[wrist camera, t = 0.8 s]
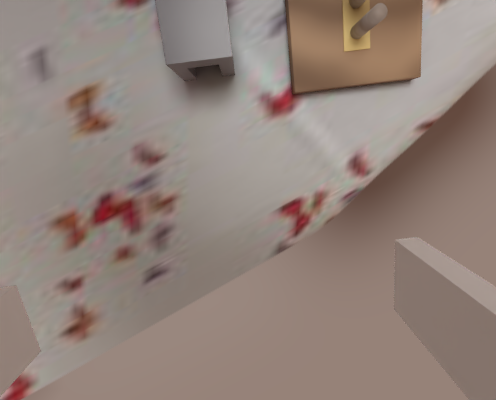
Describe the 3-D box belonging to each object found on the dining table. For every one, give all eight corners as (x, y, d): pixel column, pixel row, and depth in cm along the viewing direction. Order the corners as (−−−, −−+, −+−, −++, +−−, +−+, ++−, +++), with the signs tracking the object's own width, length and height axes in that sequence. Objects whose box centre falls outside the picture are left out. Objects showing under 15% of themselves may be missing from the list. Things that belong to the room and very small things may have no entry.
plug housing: (167, -24, 26) (139, -82, 19) (222, -31, 26) (214, -92, 19) (184, 80, 28) (165, 64, 21) (235, 74, 28) (232, 55, 21)
